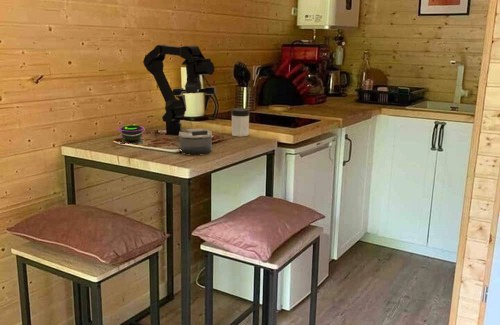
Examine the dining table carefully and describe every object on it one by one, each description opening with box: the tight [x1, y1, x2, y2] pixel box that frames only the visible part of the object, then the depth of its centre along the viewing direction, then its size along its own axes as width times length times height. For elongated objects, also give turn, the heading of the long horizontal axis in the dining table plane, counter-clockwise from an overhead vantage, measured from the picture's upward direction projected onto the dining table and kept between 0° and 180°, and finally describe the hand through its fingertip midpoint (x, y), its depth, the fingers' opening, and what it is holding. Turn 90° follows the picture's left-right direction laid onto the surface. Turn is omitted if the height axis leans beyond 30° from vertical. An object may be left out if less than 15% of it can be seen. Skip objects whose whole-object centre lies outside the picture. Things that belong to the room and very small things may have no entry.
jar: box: [231, 107, 250, 138], centre depth 234 cm, size 9×8×12 cm
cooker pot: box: [178, 135, 213, 156], centre depth 204 cm, size 14×13×6 cm
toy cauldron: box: [117, 121, 146, 144], centre depth 212 cm, size 15×15×11 cm
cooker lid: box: [178, 128, 213, 139], centre depth 202 cm, size 13×13×3 cm
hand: (195, 110), depth 223 cm, fingers open, 9 cm apart
